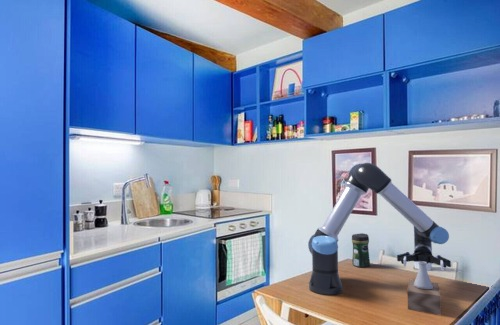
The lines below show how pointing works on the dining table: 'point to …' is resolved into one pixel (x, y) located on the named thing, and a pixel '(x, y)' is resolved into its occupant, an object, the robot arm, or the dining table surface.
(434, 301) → the walnut block
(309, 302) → the dining table surface
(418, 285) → the flask
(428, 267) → the jar
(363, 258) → the coffee jar
